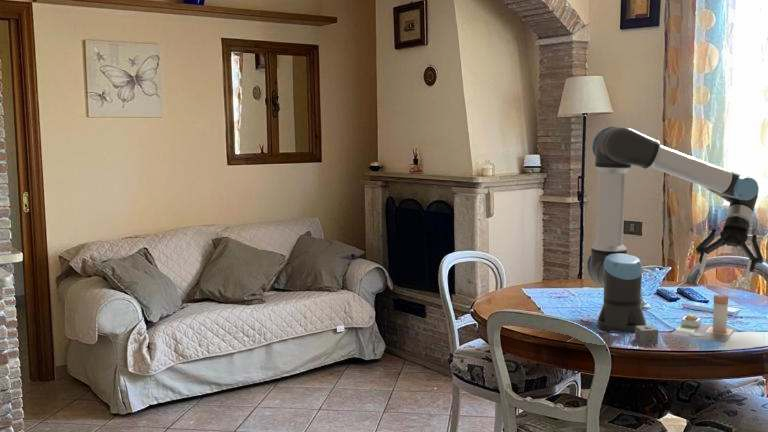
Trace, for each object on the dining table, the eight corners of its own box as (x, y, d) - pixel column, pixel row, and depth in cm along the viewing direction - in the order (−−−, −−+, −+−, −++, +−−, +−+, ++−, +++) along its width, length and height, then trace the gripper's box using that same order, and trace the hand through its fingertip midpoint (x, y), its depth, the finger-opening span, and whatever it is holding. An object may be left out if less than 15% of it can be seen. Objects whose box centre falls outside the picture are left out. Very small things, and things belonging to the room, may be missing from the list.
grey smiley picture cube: (641, 346, 227) (642, 330, 227) (634, 341, 232) (635, 325, 232) (657, 345, 228) (658, 329, 227) (650, 341, 233) (650, 325, 232)
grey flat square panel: (670, 336, 236) (670, 334, 236) (683, 323, 250) (683, 321, 250) (725, 345, 227) (725, 342, 227) (736, 330, 241) (736, 328, 241)
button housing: (681, 326, 245) (681, 319, 244) (684, 322, 248) (685, 316, 248) (696, 328, 242) (697, 321, 242) (700, 324, 246) (700, 318, 245)
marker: (710, 331, 238) (712, 297, 237) (713, 328, 241) (715, 294, 240) (725, 333, 236) (726, 298, 234) (727, 330, 239) (729, 296, 238)
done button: (685, 322, 245) (685, 316, 244) (687, 320, 247) (687, 314, 247) (694, 323, 243) (694, 317, 243) (696, 321, 245) (696, 315, 245)
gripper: (779, 233, 249) (766, 288, 240) (699, 222, 263) (684, 274, 254) (779, 220, 243) (765, 276, 235) (697, 210, 257) (681, 262, 249)
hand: (723, 275), depth 245 cm, fingers open, 13 cm apart
